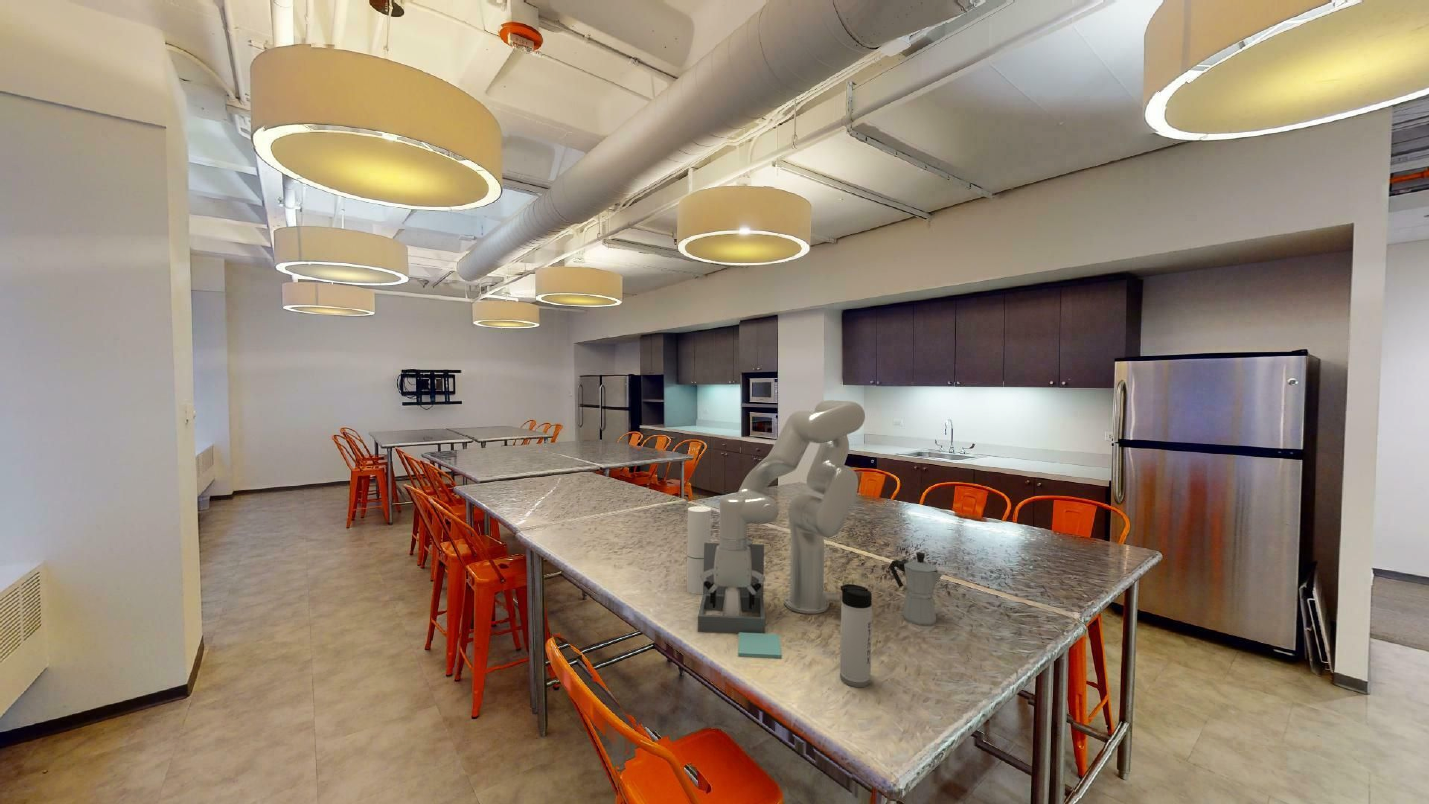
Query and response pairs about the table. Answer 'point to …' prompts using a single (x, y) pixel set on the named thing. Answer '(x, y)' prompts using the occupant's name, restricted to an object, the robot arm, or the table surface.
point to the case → (731, 617)
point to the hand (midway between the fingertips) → (732, 606)
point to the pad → (759, 645)
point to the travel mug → (855, 635)
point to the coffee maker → (918, 589)
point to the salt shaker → (732, 602)
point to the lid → (757, 565)
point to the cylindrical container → (697, 545)
